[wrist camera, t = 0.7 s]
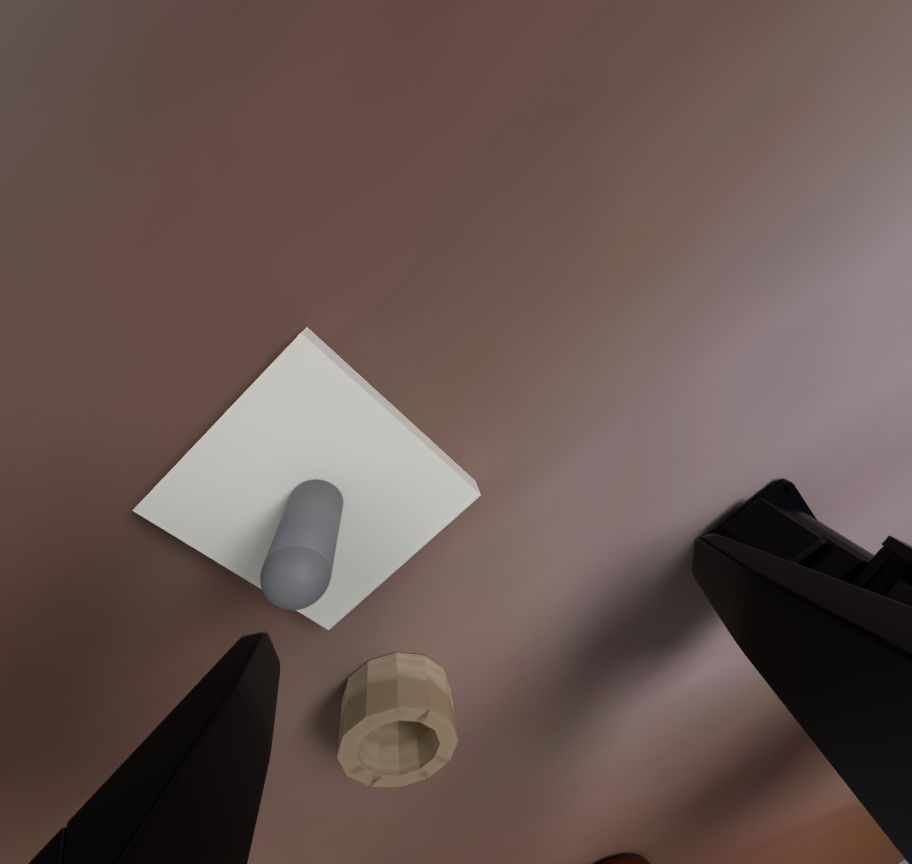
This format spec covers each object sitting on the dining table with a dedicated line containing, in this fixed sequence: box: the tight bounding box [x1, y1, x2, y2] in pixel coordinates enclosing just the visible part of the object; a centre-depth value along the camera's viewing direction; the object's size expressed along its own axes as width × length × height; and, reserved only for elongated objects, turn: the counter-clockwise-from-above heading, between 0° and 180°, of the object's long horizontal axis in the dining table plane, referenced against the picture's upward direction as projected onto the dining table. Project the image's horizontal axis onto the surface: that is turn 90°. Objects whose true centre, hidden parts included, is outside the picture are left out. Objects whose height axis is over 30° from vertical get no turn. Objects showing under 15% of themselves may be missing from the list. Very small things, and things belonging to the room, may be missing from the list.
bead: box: [337, 652, 458, 787], centre depth 26 cm, size 6×6×4 cm
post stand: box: [132, 327, 481, 630], centre depth 18 cm, size 11×11×8 cm
